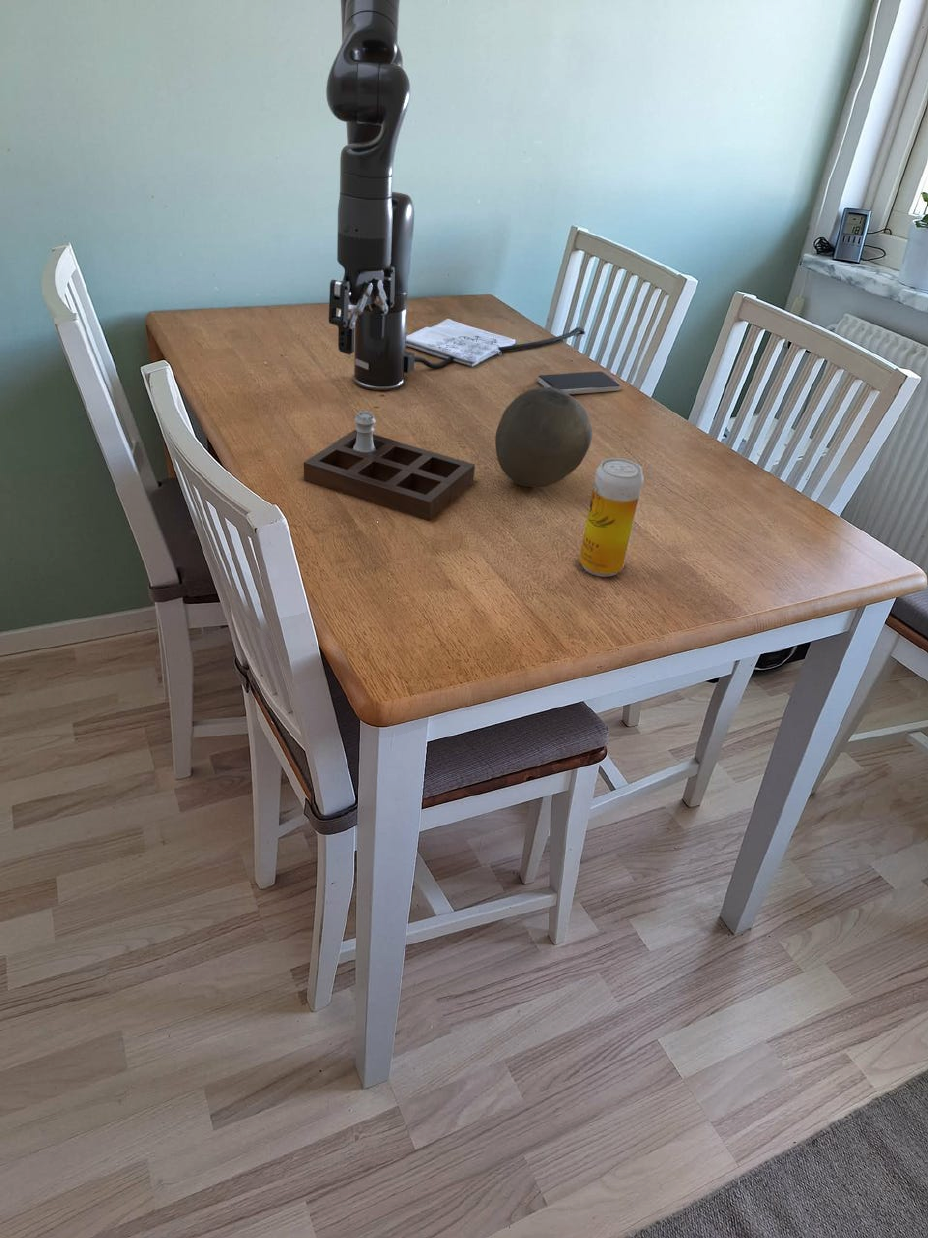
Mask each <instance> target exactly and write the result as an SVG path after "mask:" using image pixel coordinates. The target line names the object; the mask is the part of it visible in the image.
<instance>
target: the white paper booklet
mask: <svg viewBox="0 0 928 1238" xmlns="http://www.w3.org/2000/svg"><path fill="white" fill-rule="evenodd" d="M512 345H516V339H514V338H510V337H507V336H505V335H502V334H497V333H494V332H490V331H487V330H484V329H481V328H477V327H473V326H470V325H467V324H464V323H461V322H457V321H454V320H452V319H450V318H446V319H445V320H443V321H441V322H439V323H438V324H435V325H433V326H430V327H429V326H425V327H423V328H421V329H418V330H415V331H414V332H412V333H410V334H406V347H408V348H411V349H415V350H417V351H421V352H424V353H426V354H430V355H432V356H435V357H438V358H442V359H444V360H446V359H447V358H449V357H451V356H452V357H454V360H453V361H452V362H455V363H459V364H462V365H465V366H468V367H472V368H473V367H474V366H476V365H478V364H479V363H481V362H483V361H485V360H487V359H488V358H490V357H493V356H494V355H498V356H502V352H500V351H499V350H498V348H499V347H505V346H512Z"/></svg>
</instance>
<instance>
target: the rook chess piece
mask: <svg viewBox="0 0 928 1238" xmlns="http://www.w3.org/2000/svg"><path fill="white" fill-rule="evenodd" d="M363 412H364V413H363ZM354 422H355V423H356V427H355V429H356V430H357V438H356V443H355V445H354V447H353V449H354V450H357V451H361V452H364V453H367V454H371V453H373V452H374V451H376V449H375V446H374V443H373V434H374V433H373V432H374V431H375V428H374V427H373V426H374V424H376V422H377V420H376V419H375V417H374V414H373V412H371V411H369V412H368V410H364V411H362V410H360V411H358V412H357V413H356V417H354Z"/></svg>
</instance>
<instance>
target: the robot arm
mask: <svg viewBox="0 0 928 1238" xmlns="http://www.w3.org/2000/svg"><path fill="white" fill-rule="evenodd" d="M400 2H401V0H340V16H341V17H340V18H341V44H340V48H339V49H338V52H337V53H336V56H335V58H334V60H333V61H332V65H331V67H330V71H329V73H328V76H327V81H326V88H325V89H326V90H325V95H326V102H327V106H328V109H329V110H330V112H331V113H332V115H333V116H334V117H335V118H336V119H337V120H339V121H341V122H345V123H346V141H347V144H346V145H344V146H343V147H342V149H341V153H340V157H339V160H340V161H339V199H338V204H337V205H338V206H337V242H336V243H337V249H336V250H337V255H336V259H337V263H338V264H339V265H340V266H341V267H342V268H343V269H344V274H343V278H342V280H336V279H331V280H330V282H329V301H328V302H329V303H328V305H329V306H328V323H329V324H330V325H335V326H336V327H337V328H338V334H337V335H338V337H337V339H338V341H337V345H338V351H339V352H340V353H342V354H347V355H351V354H353V353H354V361H353V363H354V364H353V366H354V369H353V372H354V373H353V382H354V383H355V384H356V385H357V386H359V387H361V388H365V389H367V390H373V391H390V390H391V391H392V390H396V389H398V388H400V387H402V386H403V384H404V379H405V374H410V372H413V371H414V370H415V362H416V363H421V364H423V365H425V366H426V367H428V368H430V369H440V368H443V367H446V366H447V365H448V364H450V363H452V362H454V361H453V360H454V357H452V356H451V357H449V358H447V359H444V360H442V361H440V362H437V363H435V362H431V361H430V360H428V359H426V358H425V357H421V356H416V354H415V353H413V352H410V351H406V349H407V346H406V336H407V329H406V328H407V307H408V306H407V305H408V291H409V290H408V287H409V277H410V270H411V269H410V268H411V257H412V255H411V254H412V245H413V236H414V228H415V206H414V202H413V200H412V197H410V195H408V194H407V193H402V192H398V191H393V179H394V178H393V177H394V176H393V174H394V161H395V154H396V148H397V144H398V140H399V137H400V133H401V129H402V126H403V123H404V120H405V118H406V114H407V112H408V107H409V103H410V100H411V84H410V79H409V77H408V75H407V72H406V71H405V69H404V61H403V60H404V59H403V55H402V52H401V51H402V50H401V48H400V46H399V44H398V43H399V22H400V21H399V18H400V5H401V4H400ZM337 309H339V310H338V312H337ZM349 313H350V315H349ZM577 333H580V334H582V335H585V334H586V331H585V329H584V328H583V327H582V326H577V327H575V328H574V329H572V330H571V331H570V332H567V333H564V334H561V335H558V336H555V337H551V338H547V339H543V340H538V341H532V342H526V343H519V344H514V345H512V346H505V347H499V348H498V350H499V351H500V352H501V353H502V352H510V351H517V350H523V349H529V348H535V347H540V346H545V345H549V344H554V343H556V342H559V341H563V340H566V339H569V338H571V337H573V336H574V335H576V334H577ZM500 352H499V353H500Z"/></svg>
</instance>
